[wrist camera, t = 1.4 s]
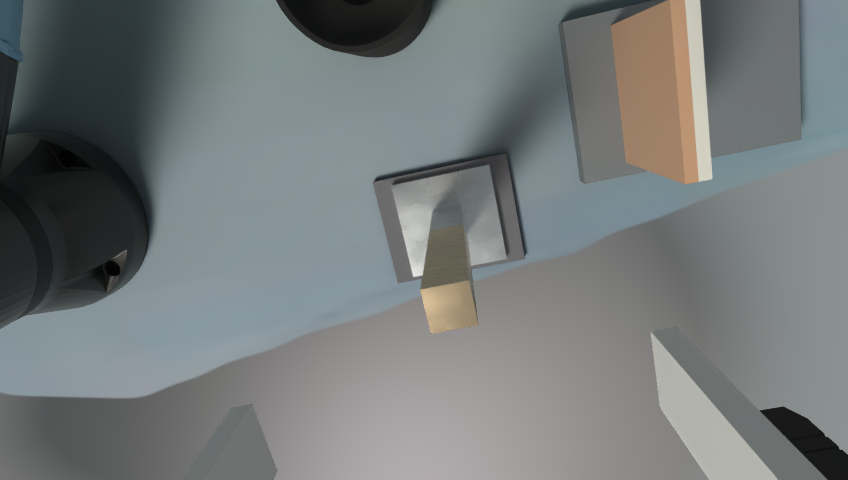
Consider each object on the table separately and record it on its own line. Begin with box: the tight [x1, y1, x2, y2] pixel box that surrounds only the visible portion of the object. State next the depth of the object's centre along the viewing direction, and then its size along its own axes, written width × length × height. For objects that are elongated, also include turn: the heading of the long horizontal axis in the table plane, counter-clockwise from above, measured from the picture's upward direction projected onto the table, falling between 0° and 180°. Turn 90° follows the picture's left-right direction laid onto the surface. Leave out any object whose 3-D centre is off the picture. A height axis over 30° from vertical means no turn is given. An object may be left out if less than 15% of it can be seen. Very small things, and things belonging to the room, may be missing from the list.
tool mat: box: [373, 153, 525, 283], centre depth 41 cm, size 11×9×1 cm
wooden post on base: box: [391, 164, 507, 333], centre depth 33 cm, size 8×8×18 cm
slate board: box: [559, 0, 802, 184], centre depth 37 cm, size 16×12×2 cm
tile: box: [611, 0, 712, 184], centre depth 32 cm, size 2×10×10 cm, turn 13°
